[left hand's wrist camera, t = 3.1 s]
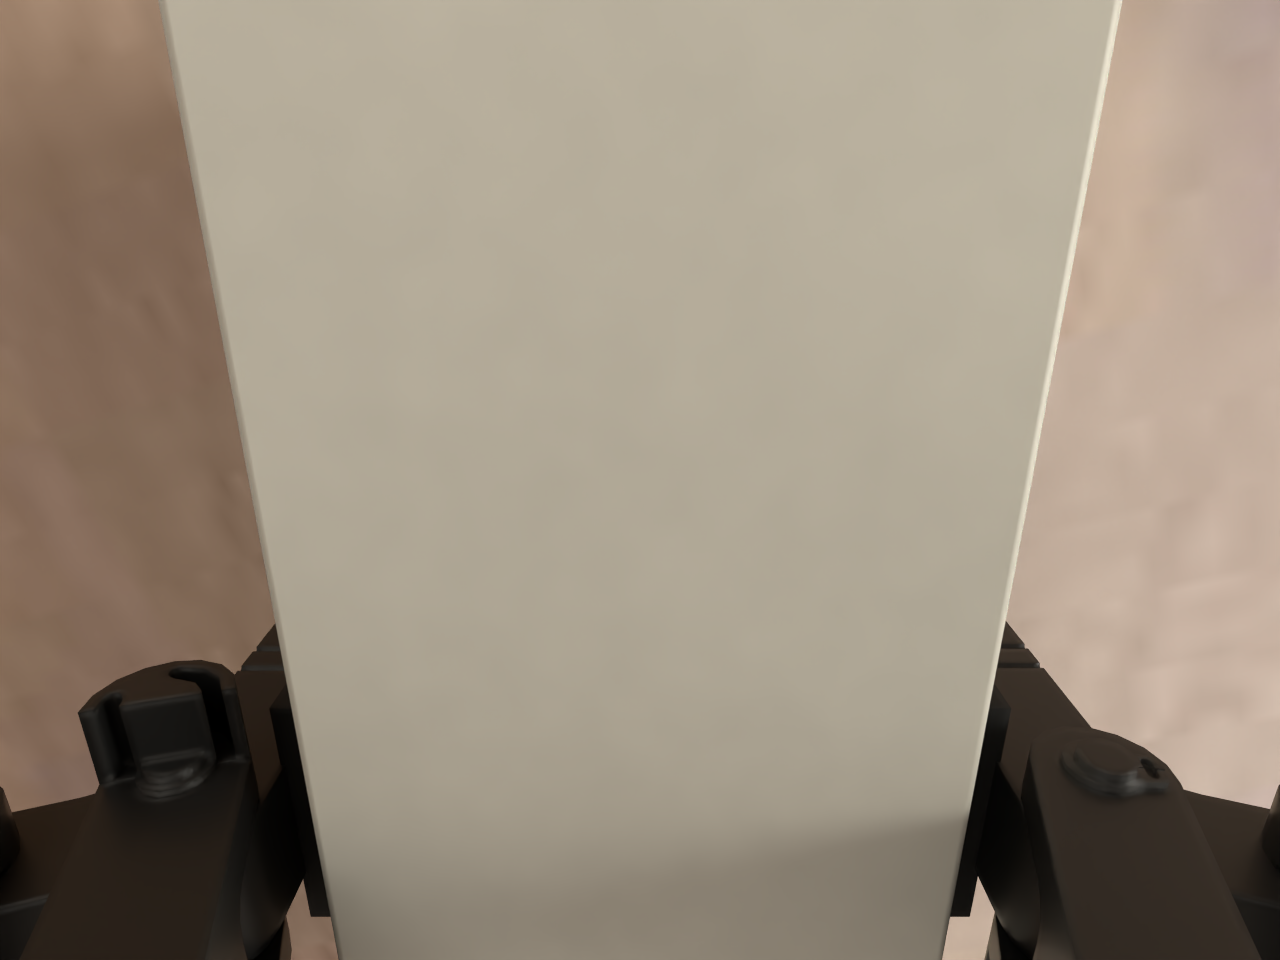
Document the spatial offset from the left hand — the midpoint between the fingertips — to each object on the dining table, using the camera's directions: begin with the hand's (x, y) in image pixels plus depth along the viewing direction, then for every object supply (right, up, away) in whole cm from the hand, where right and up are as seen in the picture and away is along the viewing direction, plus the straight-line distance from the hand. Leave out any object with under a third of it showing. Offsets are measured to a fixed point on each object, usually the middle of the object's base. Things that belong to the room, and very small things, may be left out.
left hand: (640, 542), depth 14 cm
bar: (0, -18, +8) cm, 20 cm away
